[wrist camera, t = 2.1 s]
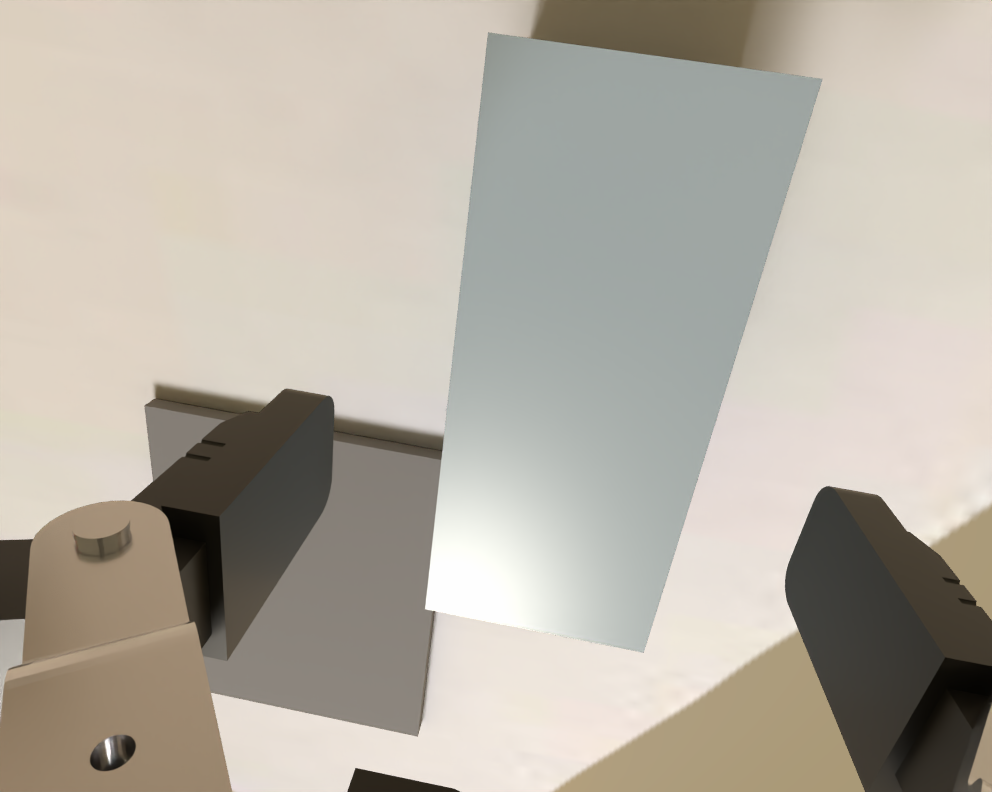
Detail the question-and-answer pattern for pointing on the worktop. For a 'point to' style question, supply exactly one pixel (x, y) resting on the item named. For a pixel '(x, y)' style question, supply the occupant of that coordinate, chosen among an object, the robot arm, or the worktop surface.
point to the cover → (599, 323)
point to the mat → (336, 585)
